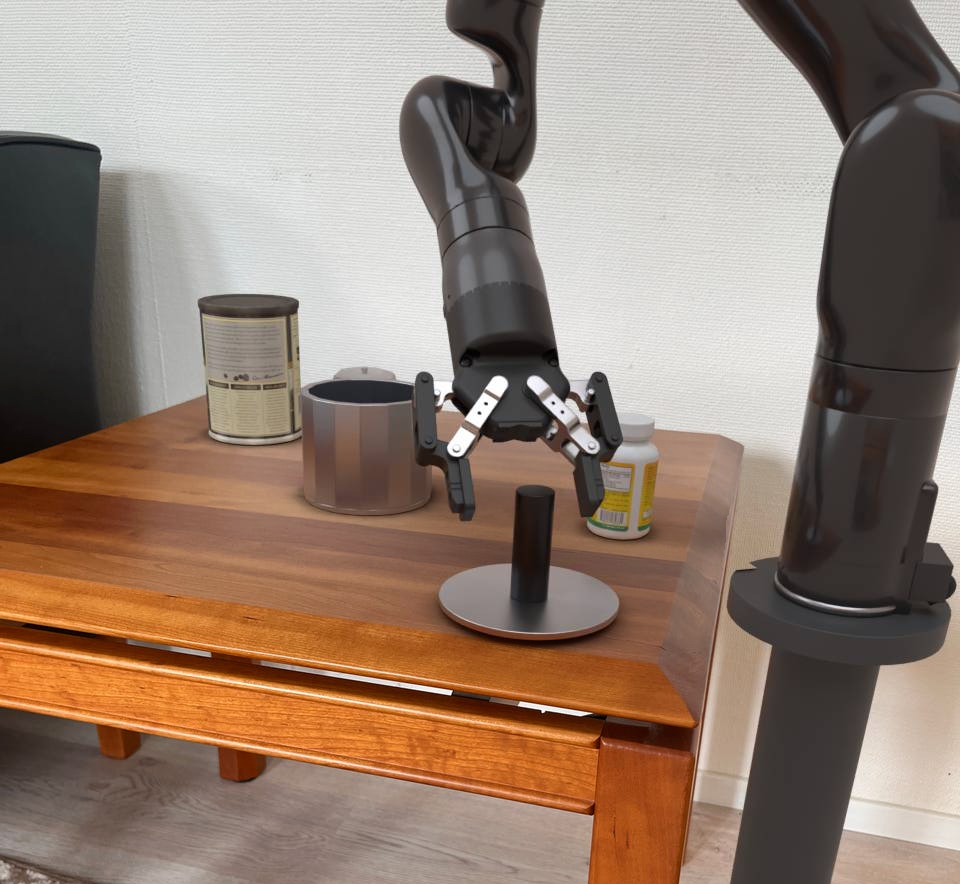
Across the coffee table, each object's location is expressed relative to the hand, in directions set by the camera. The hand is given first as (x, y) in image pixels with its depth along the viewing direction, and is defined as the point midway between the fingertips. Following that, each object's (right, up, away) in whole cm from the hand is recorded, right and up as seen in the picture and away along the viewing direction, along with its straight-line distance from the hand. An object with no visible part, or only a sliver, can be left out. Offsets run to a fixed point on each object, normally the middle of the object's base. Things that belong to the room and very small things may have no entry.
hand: (530, 514), depth 68 cm
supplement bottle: (+8, +1, +19) cm, 20 cm away
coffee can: (-28, +14, +44) cm, 54 cm away
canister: (-14, +5, +25) cm, 29 cm away
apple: (-17, +16, +49) cm, 54 cm away
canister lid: (0, -6, +2) cm, 6 cm away
